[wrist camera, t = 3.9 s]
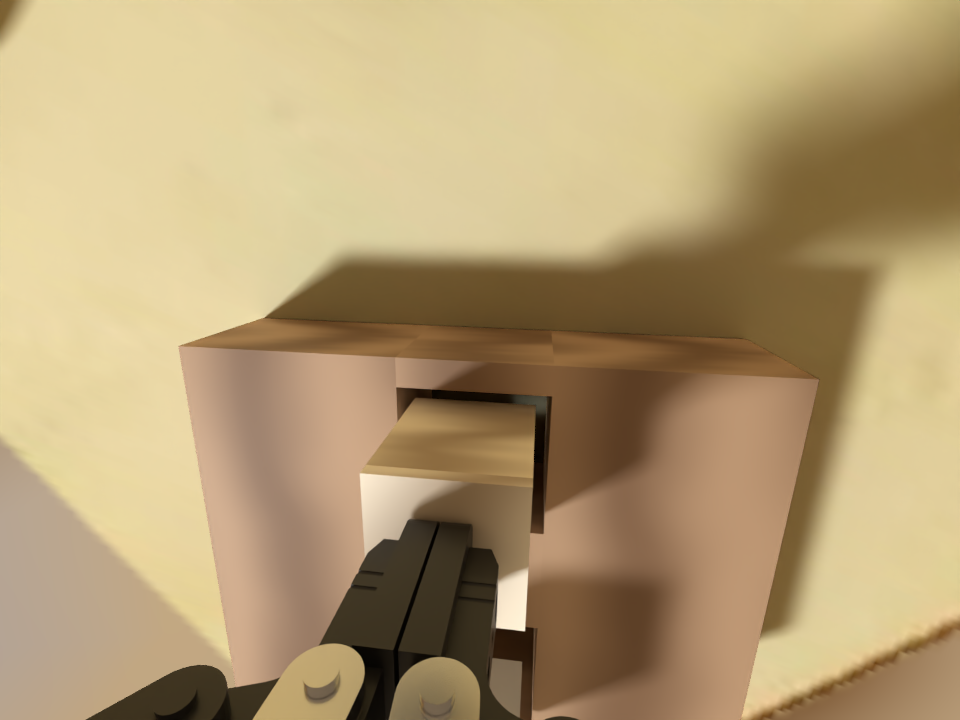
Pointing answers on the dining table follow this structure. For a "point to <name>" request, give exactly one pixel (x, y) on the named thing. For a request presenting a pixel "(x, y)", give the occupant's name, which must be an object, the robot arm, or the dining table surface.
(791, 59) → the dining table surface
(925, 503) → the dining table surface
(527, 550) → the peg
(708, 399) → the socket board
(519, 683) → the peg
